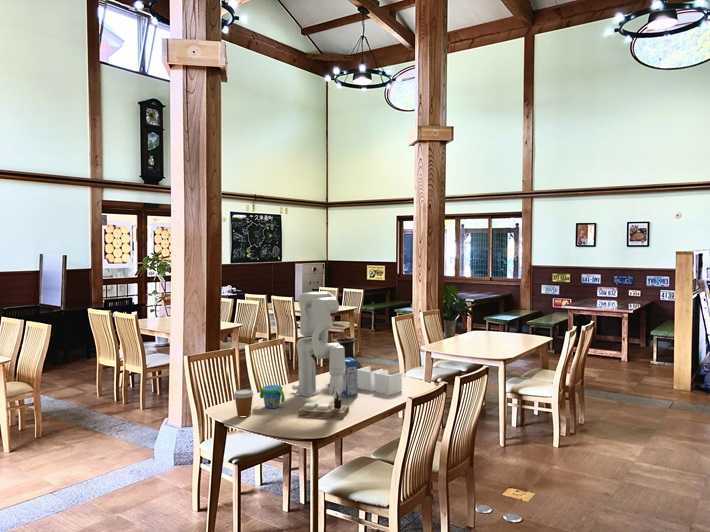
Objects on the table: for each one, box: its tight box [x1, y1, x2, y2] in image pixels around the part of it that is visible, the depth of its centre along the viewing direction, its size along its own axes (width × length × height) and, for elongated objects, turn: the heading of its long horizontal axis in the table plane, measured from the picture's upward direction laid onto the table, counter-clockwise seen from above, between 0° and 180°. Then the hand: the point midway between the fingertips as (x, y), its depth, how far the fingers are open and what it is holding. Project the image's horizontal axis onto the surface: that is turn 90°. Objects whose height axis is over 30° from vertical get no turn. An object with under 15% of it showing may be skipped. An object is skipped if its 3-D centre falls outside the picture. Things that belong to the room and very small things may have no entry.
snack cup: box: [259, 384, 286, 409], centre depth 282 cm, size 16×10×10 cm
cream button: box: [318, 402, 331, 410], centre depth 268 cm, size 5×5×3 cm
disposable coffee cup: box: [233, 388, 254, 417], centre depth 267 cm, size 10×10×12 cm
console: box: [297, 403, 350, 420], centre depth 268 cm, size 23×12×3 cm, turn 77°
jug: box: [331, 331, 363, 369], centre depth 332 cm, size 21×18×30 cm
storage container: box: [357, 366, 403, 396], centre depth 314 cm, size 25×11×11 cm, turn 46°
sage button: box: [303, 402, 318, 409], centre depth 270 cm, size 5×5×3 cm
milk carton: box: [341, 357, 359, 399], centre depth 302 cm, size 10×6×20 cm, turn 22°
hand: (337, 407), depth 267 cm, fingers closed
